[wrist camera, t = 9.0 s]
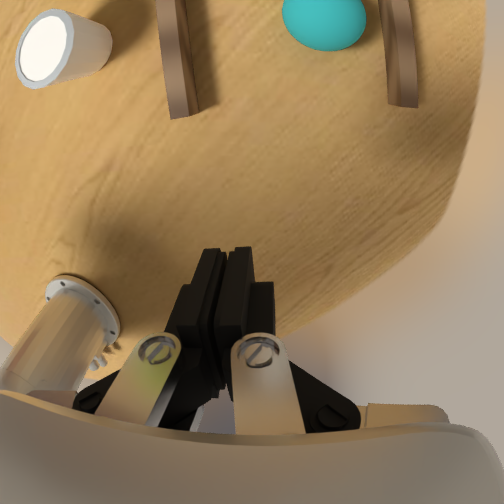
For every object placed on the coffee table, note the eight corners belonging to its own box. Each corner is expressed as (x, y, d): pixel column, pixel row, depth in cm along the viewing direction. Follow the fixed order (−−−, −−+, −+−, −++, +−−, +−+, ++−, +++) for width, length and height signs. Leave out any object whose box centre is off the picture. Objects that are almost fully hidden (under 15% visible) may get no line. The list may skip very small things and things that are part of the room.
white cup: (127, 18, 18) (84, 5, 12) (108, 86, 22) (61, 92, 16) (71, 18, 18) (25, 12, 12) (56, 80, 21) (8, 88, 15)
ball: (339, 2, 17) (336, 61, 20) (272, -15, 16) (267, 48, 18) (383, -14, 12) (381, 57, 15) (305, -43, 11) (301, 33, 13)
